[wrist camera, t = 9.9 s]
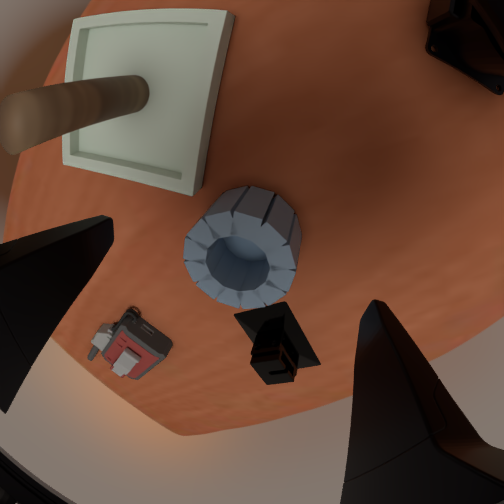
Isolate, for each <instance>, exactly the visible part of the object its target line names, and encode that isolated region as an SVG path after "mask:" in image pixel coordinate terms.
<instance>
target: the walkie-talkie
mask: <svg viewBox="0 0 504 504" xmlns="http://www.w3.org/2000/svg"><path fill="white" fill-rule="evenodd" d="M91 343H93V344H94V346H93V347H92V349H91V351H90V353H89V355H88V360H90V361H92V360H93V359H94V357H95V355H96V354H97V352H98V350H99V349H100V350H101V351H102V353H101V354H102V356H103V357H104V359H105V360H106V361H107V362H109V363H110V364H111V365H112V366H111V367H110V369H111V370H112V371H114V372H115V373H116V374H118V375H119V376H120V377H122V378H123V377H124V376H125V375H127V376H128V377H129V378H131V379H136V380H138V379H140V378H141V377H142V376H143V375H145V374H146V373H147V372H148V371H150V370H151V369H152V368H153V367H154V366H156V365H157V364H159V362H161V361H162V360H164V359H165V358H166V357H167V355H168V353H169V351H170V349H171V347H172V345H173V344H172V341H171V339H169V338H168V337H167V336H165V335H164V334H162V333H161V332H160V331H158V330H157V329H156V328H154V327H153V326H152V325H150V324H149V323H148V322H146V321H145V320H144V319H143V318H141V317H140V316H139V315H138V313H137V312H136V311H135V310H133V309H128V310H127V311H126V312H125V313H124V315H123V316H122V318H121V319H120V321H119V322H118V324H116V325H115V324H103V325H102V326H101V327H100V329H99V330H98V331H97V333H96V334H95V336H94V337H93V338H92V340H91Z"/></svg>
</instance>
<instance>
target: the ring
mask: <svg viewBox="0 0 504 504" xmlns="http://www.w3.org/2000/svg"><path fill="white" fill-rule="evenodd" d="M273 196H274V192H272V191H268V190H265V189H261V188H258V187H254V186H251V187H250V189H249V188H248V186H244V187H240V188H236V189H232V190H228V191H226V192H225V193H222V195H221V196H220V197H219V198H218V199H217V200H216V201H215V202H214V203H213V204H212V205H211V206H210V207H209V209H208V210H207V211H206V212H205V213H204V214H203V216H202V217H201V218H200V219H199V220H198V221H197V223H196V224H195V225H194V226H193V227H192V229H191V230H190V231H189V232H188V233H187V236H186V237H185V244H184V255H183V259H186V260H185V261H184V263H185V265H186V268H187V270H188V272H189V274H190V276H191V278H192V280H193V282H196V281H197V283H196V285H197V286H198V287H199V288H200V289H201V290H203V291H204V292H205V293H206V294H207V295H209V296H210V297H211V298H212V299H215V298H216V297H217V296H218V298H217V302H220V303H223V304H226V305H230V306H233V307H236V308H240V305H241V306H242V308H243V309H249V308H260V307H265V306H266V304H267V305H268V306H269V305H271V304H272V303H274V302H275V301H277V300H278V299H280V298H281V297H283V296H284V295H286V293H287V292H288V291H289V289H290V286H291V284H292V281H293V278H294V276H295V273H296V268H297V263H298V257H299V251H300V244H301V238H302V237H301V236H302V233H301V229H300V226H299V222H298V218H297V214H294V210H293V209H292V208H291V207H290V206H289V205H288V204H287V203H286V202H285V201H284V200H283V199H282V198H281V197H280V196H279V195H276V196H275V197H274V198H273Z"/></svg>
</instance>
